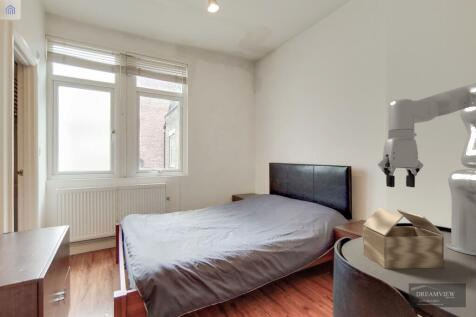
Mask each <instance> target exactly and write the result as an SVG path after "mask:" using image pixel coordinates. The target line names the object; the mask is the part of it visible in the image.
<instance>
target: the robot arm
mask: <svg viewBox="0 0 476 317" xmlns="http://www.w3.org/2000/svg"><path fill="white" fill-rule="evenodd" d="M456 112H459V116H460V119H461V121H462V122H463V123H462V124H463V125H464V126H465V130H466V132H467V139H466V142H465V143H464V148H463V150H462V154H461V158H460V162H461V165H462V166H463V167H465V168H467V169H464V168H463V169H458V170H453V171H452V172H451V173H450V174H449V176H448V186H449V191H450V195H451V196H450V198H451V199H450V200H451V221H450V222H451V225H450V226H451V228H450V229H451V230H450V231H451V232H450V234H451V239H450V241H447V242H446V243H445V246H446V247H447V248H448V249H449V250H452V251H454V252H458V253H462V254H465V255H470V256H476V83H472V84H468V85H463V86H460V87H456V88H453V89H450V90H445V91H442V92H439V93H436V94H432V95H431V96H426V97H424V98H420V99H418V100H413V99H408V98H401V99H395V100H393V101H391V102H390V103H389V104H388V120H387V121H388V122H387V123H388V126H387V128H388V134H387V139H386V140H385V143H384V145H383V154H382V160H381V161H380V162H378V163H377V166H378V167H379V169H380V170H381V171H382V172H383V173H384V175H385V182H386V187H388V188H389V187H390V188H395V185H396V184H395V182H396V181H395V179H396V177H395V175H394V174H395V171H396V169H405V171H406V173H407V174H406V176H405V186H406V187H408V188H415V187H416V176H418V173H419V172H420V171H421V169H422V168H423V167H424V164H423V163H422V162H421V161H420V159H419V152H418V144H417V141H416V139H415V137H416V136H417V133H416V132H415V124H416V123H417V124H418V123H424V122H426V123H427V122H429V121H432V120H434V119H436V118H437V117H442V116H446V115H449V114H452V113H453V114H454V113H456ZM468 168H469V169H468Z"/></svg>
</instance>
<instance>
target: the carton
mask: <svg viewBox="0 0 476 317" xmlns="http://www.w3.org/2000/svg"><path fill="white" fill-rule="evenodd" d="M362 233H363V234H362V255H364V256H365V257H367V258H369V259H370V260H371V261H373V262H374V263H376V264H377V265H379V266H380V267H382V268H384V269H386V270H387V269H391V270H392V269H432V268H434V269H435V268H438V269H441V268H444V260H445V259H444V256H445V255H444V254H445V252H444V250H445V249H444V247H445V242H444V240H445V239H444V238H445V236H444V235H440V234H437V233H434V232H431V231H429V230H426V229H423V228H420V227H417V226H394V227H393V228H392V229H391V231H390V232H389V233H388V234H387V235H386V236H385V235H382V234H380V233H378V232H376V231H374V230H372V229H370V228H367V227H365V226H363V227H362Z"/></svg>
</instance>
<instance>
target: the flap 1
mask: <svg viewBox="0 0 476 317" xmlns="http://www.w3.org/2000/svg"><path fill="white" fill-rule="evenodd" d="M403 218H405V217H404V215H402V214H401V213H399V212H394V211H392V210H389V209H386V208H385V209H384V208H382V207H378V209H376V211H375V212H373V214H372V215H370V216H369V218H368V219H367V220H366V221H365V222H364V223H363V224H362V225H363V227H367V228H370V229H372V230H374V231H376V232H378V233H380V234H382V235H385V236H386V235H387V234H388V233H389V232H390V231H391V229H392V228H393V227H396V226H397V224H398V223H400V221H401V220H402V219H403Z"/></svg>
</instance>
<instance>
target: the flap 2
mask: <svg viewBox="0 0 476 317" xmlns="http://www.w3.org/2000/svg"><path fill="white" fill-rule="evenodd" d="M396 211H397V213H399V214H402V215H404V217H403V218H405V219H406V220H407V221H409V223H411V224H412V225H413V227H417V228H420V229H423V230H425V231H428V232H431V233H434V234H437V235H440V236H444V233H443V232H442V231H441V230H440V229H439V228H438V227H436V226H435V225H434V224H433V223H432V222H431V221H430V220H428V218H426V217H425V216H423V215H419V214H415V213H413V212H409V211H406V210H402V209H396Z"/></svg>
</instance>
